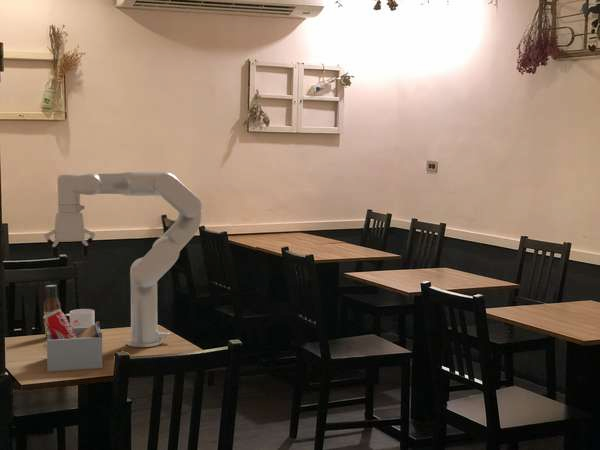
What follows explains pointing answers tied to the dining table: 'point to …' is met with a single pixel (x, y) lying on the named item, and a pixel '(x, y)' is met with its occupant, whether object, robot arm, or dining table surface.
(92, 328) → the flap
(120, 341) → the dining table surface
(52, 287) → the sauce bottle
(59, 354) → the bin
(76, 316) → the mug
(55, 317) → the soda can
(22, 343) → the dining table surface
